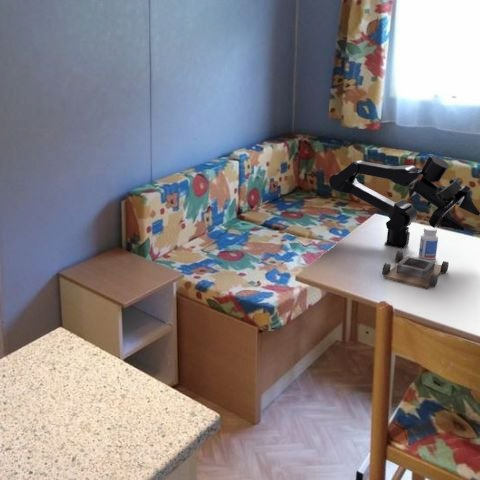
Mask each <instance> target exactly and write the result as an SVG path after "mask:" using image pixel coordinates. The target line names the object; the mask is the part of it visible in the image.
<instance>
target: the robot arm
mask: <svg viewBox="0 0 480 480" xmlns="http://www.w3.org/2000/svg"><path fill="white" fill-rule="evenodd" d="M449 167H450V165H449V163H448V162H447V161H446V160H444V159H441V158H439V157H435V156H433V155H430V156H428V158H427V159H426V162H425V164H424V166H423V167H416V166H415V165H398V166H397V165H396V166H393V165H392V166H391V165H388V164H387V165H386V164H382V163H381V164H380V163H374V162H369V161H363V160H361V159H358V160H355V161H354V160H353V162H350V163H349V165H347V167H345V168H343V169H342V170H341V171H339V172H337V173H335V174H332V175H331V176H330V177H329V180H328V182H329V183H328V184H329V187H330V188H331V190H332V191H336V192H339V193H342V194H349V195H352V196H354V197H356V198H358V199H359V200H361V201H363V202H364V203H366V204H369V205H370V206H373V208H376V209H377V210H379V211H381V212H383V213H385V215H387V217H388V219H389V220H387V221H386V222H385V225H386V229H387V232H386V233H387V234H386V241H385V242H384V245H386V246H391V247H395V248H400V249H404V248H406V246H407V245H408V244H409V243H410V234H411V233H410V231H409V230H410V227H409V226H411V224H412V223H413V222H415V221H416V219H418V218H417V217H418V212H417V209H416V207H414V206H413V205H414V204H412V203H409V202H407V201H406V200H404V199H400V200H399V201H393V200H391V199H389V198H388V197H385V196H384V195H382V194H380V193H379V192H376V191H375V190H373V189H371V188H369V187H367V186H365V185H364V184H362V183H360V182H359V180H358V179H357V178H356V177H357V176H359V175H365V176H370V177H376V178H381V179H386V180H390V181H391V182H392V183H394V184H396V185H399V186H402V187H407V186H409V185H411V184H413V186H411V187H409V188H408V193H409V197H413V196H415V195H416V194H417V195H418V196H419V197H421V198H422V199H424V200H425V201H426V202H427V205H428V206H429V207H430V206H431V205H432V206H434V207H435V208H436V209H435V210H434V211H433V212H432V213H431V216H430V218H429V219H428V222H427V223H428V224H429V225H430V227H433V228H437V229H438V228H441V227H442V228H448V229H454V230H457V231H458V230H459V231H465V230H466V227H465V226H464V225H463V224H462V223H460V222H459V221H457V220H456V218H454V217H452V215H451V213H450V210H452V208H453V207H454V206H456V205H458V208H460V209H462V210H464V211H467V212H468V213H471V214H473V215H475V216H478V217H479V216H480V210H479V209H478V207H476V205H475V203H474V202H473V201H472V199H471V194H472V192H471V190H472V188H471V187H470V186H468V185H467V184H465V185H464V184H463V185H462V181H461V180H460V179H459V178H457V177H455V176H454V177H452V178H451V179H449V181H448V183H449V184H448V185H447V186H444V185H440V186H439V185H437V184H436V183H438V182H440V181H441V180H442V178H443V177H444V175H445V174H446V172H447V171H448V169H449ZM420 177H421V178H420ZM419 178H420V179H419Z"/></svg>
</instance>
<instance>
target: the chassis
mask: <svg viewBox="0 0 480 480" xmlns="http://www.w3.org/2000/svg"><path fill="white" fill-rule="evenodd" d="M394 261H395V263H396V264H395V265H394V266H393V268H391V267H392V266H391V264H390V263H387V262H385V263H384V264H383V266H382V270H381V274H382V276H384V280H387V281H391V282H396V283H400V284H404V285H408V286H413V287H414V288H415V287H416V288H420V289H424V290H428V289H429V288H430V287H432V288H436V286H437V283H438V279H439V276H440V275H441V273H442V274H447V273H448V268H449V264H450V263H449V261H442V262H441V264H438V263H436V261H434V260H430V259H424V258H421V257H414V256H410V255H406V256H404V251H400V250H397V252H396V254H395V258H394Z"/></svg>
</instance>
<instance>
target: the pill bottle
mask: <svg viewBox="0 0 480 480" xmlns="http://www.w3.org/2000/svg"><path fill="white" fill-rule="evenodd" d="M437 232H438V228H437V227H435V228H433V227H432V226H425V227H424V228H423V233H421V235H420V241H419V248H418V256H419V258H420V259H425V260H433V259H436V257H437V249H438V243H439V236H438V234H437Z"/></svg>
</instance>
